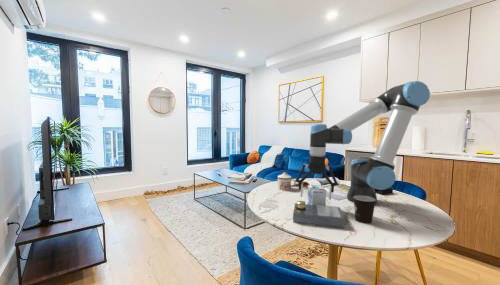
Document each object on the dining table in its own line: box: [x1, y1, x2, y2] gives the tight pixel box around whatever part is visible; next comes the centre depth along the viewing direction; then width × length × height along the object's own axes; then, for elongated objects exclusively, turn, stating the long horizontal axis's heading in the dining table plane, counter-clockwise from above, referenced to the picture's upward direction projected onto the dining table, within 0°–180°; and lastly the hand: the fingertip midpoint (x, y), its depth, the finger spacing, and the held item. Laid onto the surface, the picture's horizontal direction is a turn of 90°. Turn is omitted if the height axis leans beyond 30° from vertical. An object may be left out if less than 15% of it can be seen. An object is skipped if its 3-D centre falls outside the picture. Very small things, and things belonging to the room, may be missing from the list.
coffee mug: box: [353, 195, 376, 225], centre depth 100 cm, size 12×9×10 cm
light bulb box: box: [307, 184, 327, 206], centre depth 114 cm, size 11×7×11 cm, turn 178°
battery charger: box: [374, 187, 394, 196], centre depth 144 cm, size 13×10×4 cm
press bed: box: [292, 202, 345, 229], centre depth 100 cm, size 20×14×4 cm
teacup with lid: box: [277, 172, 297, 191], centre depth 147 cm, size 12×9×12 cm
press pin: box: [296, 200, 306, 210], centre depth 102 cm, size 4×4×4 cm
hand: (315, 197), depth 114 cm, fingers open, 13 cm apart
